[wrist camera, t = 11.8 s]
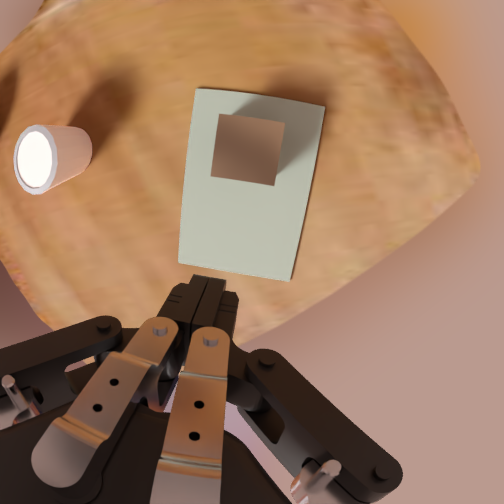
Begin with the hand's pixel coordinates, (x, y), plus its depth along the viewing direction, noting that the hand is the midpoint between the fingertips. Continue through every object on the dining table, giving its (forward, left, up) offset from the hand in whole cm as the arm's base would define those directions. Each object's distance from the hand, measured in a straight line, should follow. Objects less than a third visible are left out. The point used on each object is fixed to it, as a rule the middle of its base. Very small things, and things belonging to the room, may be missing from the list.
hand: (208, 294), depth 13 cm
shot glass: (-4, -20, -17) cm, 26 cm away
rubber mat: (-2, 0, -17) cm, 17 cm away
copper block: (-6, 0, -11) cm, 13 cm away
